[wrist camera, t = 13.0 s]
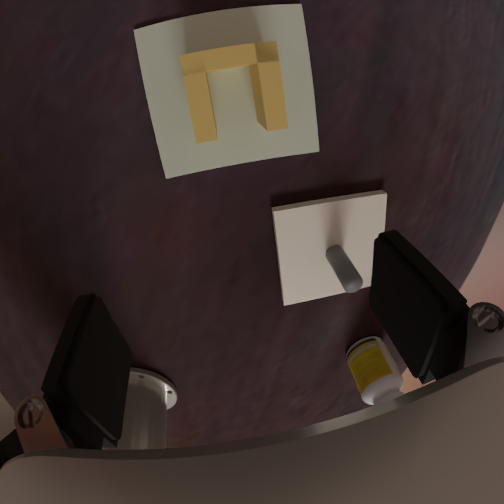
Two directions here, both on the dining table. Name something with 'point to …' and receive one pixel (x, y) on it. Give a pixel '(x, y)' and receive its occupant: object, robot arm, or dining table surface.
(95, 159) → the dining table surface
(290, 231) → the stand
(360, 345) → the pill bottle
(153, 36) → the mat
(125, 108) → the dining table surface
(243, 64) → the c link
